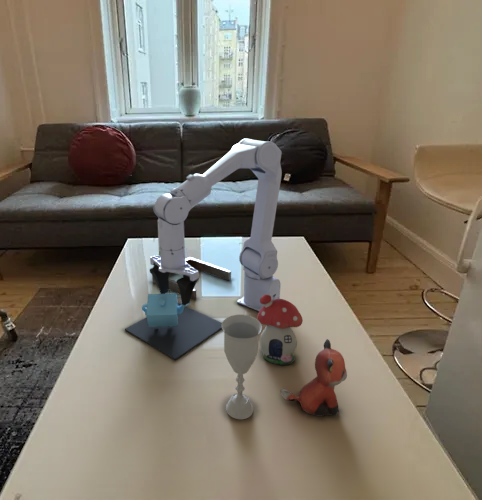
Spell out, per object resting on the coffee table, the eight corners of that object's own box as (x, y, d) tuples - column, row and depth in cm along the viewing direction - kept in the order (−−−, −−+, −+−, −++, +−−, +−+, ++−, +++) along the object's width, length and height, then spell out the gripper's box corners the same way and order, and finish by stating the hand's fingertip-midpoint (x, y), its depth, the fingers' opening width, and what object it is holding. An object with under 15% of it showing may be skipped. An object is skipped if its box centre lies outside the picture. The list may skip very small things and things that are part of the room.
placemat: (225, 326, 97) (225, 324, 97) (175, 360, 85) (175, 358, 85) (175, 302, 109) (175, 301, 109) (124, 330, 97) (124, 328, 97)
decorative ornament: (252, 357, 85) (254, 297, 80) (262, 341, 91) (265, 284, 85) (293, 370, 81) (299, 308, 75) (301, 353, 86) (307, 294, 81)
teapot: (191, 306, 100) (190, 290, 94) (191, 327, 96) (190, 311, 90) (144, 308, 100) (141, 291, 95) (143, 328, 96) (139, 313, 91)
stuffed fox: (277, 387, 77) (281, 336, 72) (335, 389, 75) (343, 338, 71) (282, 416, 70) (286, 362, 65) (346, 419, 69) (355, 364, 64)
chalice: (257, 426, 68) (261, 340, 61) (218, 421, 69) (218, 336, 62) (258, 396, 74) (262, 316, 68) (223, 392, 76) (224, 313, 69)
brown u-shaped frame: (231, 279, 121) (231, 270, 120) (193, 300, 110) (193, 291, 109) (190, 264, 133) (190, 256, 132) (152, 282, 121) (151, 273, 120)
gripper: (138, 244, 91) (143, 294, 96) (182, 259, 82) (184, 315, 87) (161, 236, 96) (163, 284, 101) (204, 250, 86) (205, 303, 92)
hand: (174, 298), depth 94 cm, fingers open, 7 cm apart
